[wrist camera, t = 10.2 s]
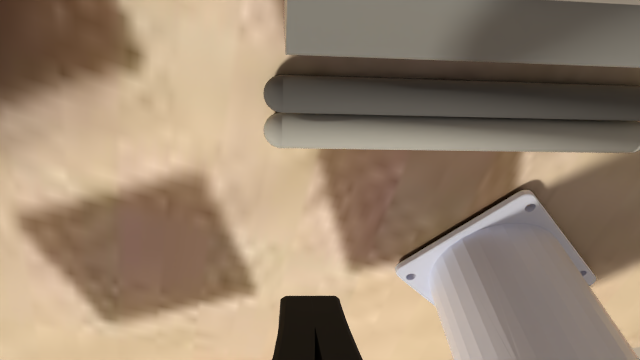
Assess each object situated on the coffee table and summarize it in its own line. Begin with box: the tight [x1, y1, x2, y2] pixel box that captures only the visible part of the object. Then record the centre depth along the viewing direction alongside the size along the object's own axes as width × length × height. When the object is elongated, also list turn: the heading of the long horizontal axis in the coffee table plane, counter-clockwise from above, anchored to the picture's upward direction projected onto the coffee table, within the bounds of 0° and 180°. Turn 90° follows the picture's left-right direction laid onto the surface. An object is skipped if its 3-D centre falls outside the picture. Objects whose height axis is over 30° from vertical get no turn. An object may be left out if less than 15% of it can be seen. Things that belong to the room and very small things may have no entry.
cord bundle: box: [264, 75, 640, 153], centre depth 18 cm, size 16×3×1 cm, turn 86°
